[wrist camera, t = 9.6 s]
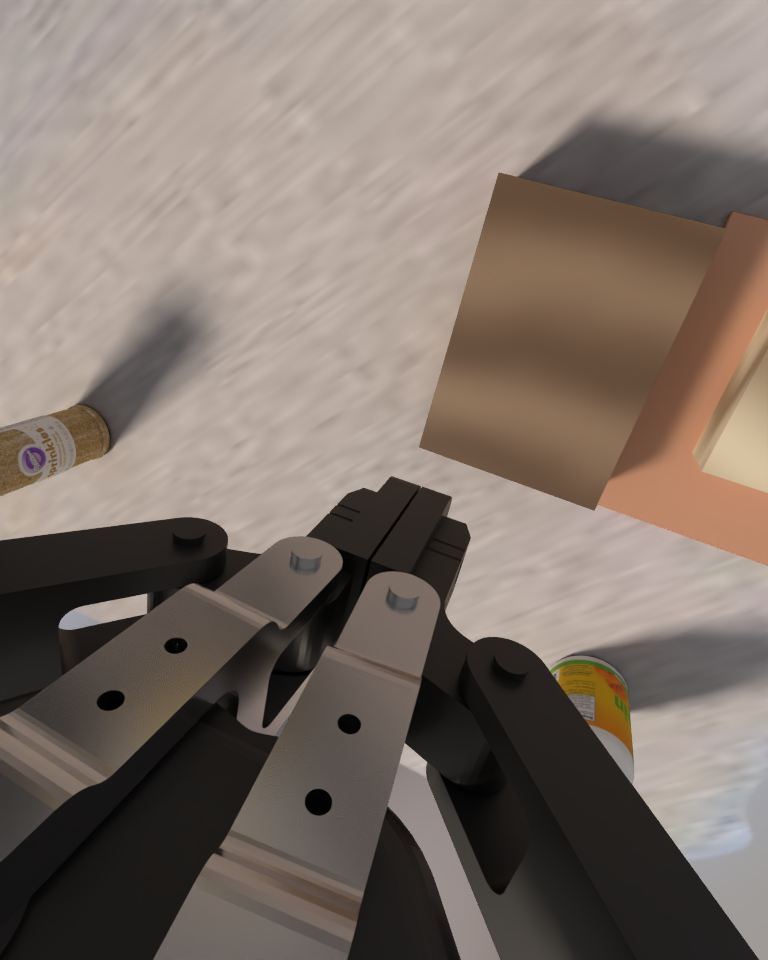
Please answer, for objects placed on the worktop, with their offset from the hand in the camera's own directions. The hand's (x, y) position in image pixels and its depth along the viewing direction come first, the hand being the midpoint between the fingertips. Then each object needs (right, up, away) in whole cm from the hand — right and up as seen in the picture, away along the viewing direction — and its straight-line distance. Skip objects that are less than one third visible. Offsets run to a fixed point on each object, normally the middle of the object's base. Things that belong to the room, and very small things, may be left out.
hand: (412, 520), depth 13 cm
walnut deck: (+9, +9, +18) cm, 22 cm away
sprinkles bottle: (-24, +5, +32) cm, 40 cm away
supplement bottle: (+13, -13, +25) cm, 31 cm away
